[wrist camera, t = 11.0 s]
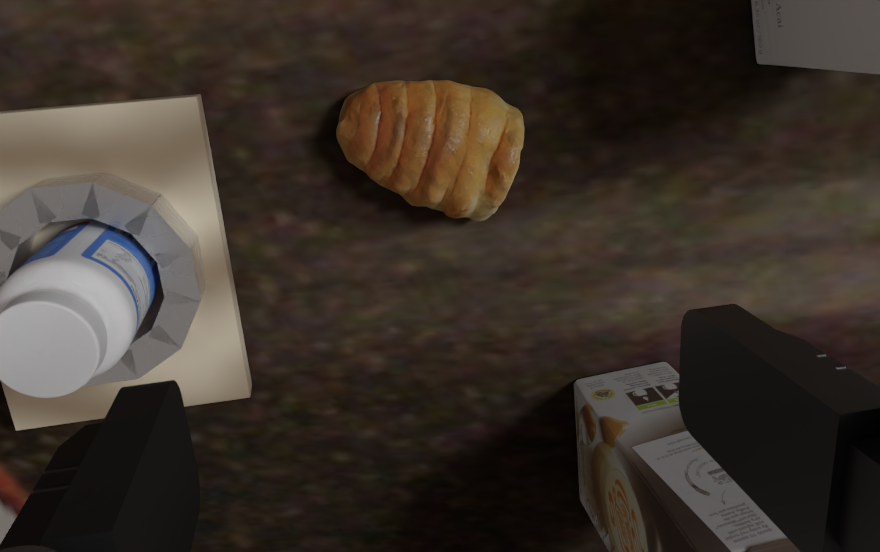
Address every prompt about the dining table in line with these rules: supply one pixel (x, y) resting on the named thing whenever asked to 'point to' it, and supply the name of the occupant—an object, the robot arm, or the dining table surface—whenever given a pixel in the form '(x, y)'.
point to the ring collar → (149, 221)
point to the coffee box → (658, 472)
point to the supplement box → (818, 34)
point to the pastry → (434, 143)
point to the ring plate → (84, 152)
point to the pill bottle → (73, 309)
